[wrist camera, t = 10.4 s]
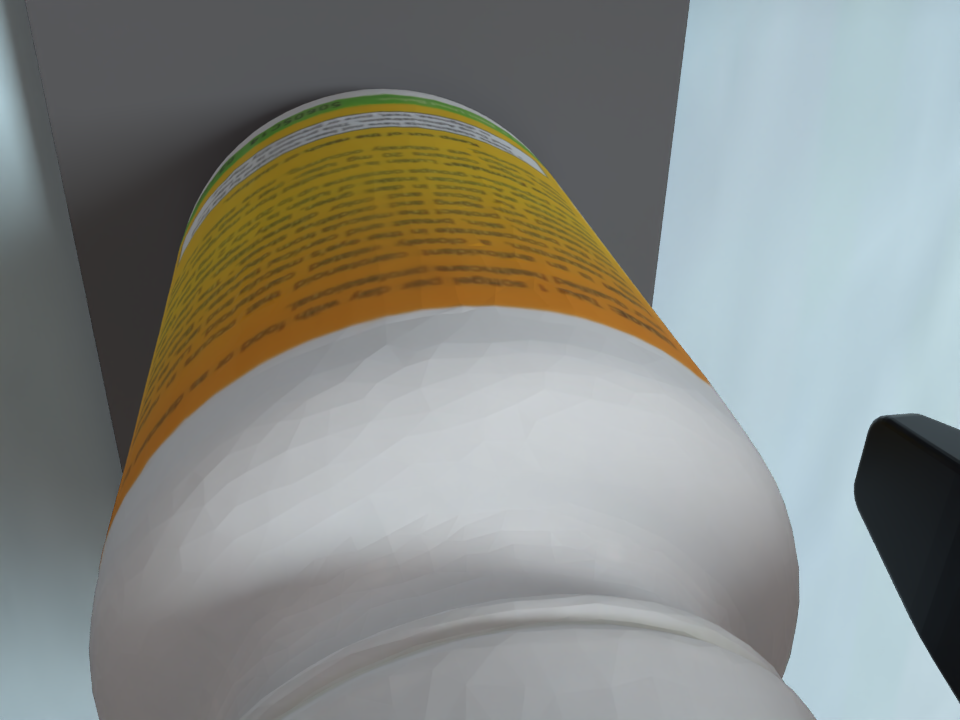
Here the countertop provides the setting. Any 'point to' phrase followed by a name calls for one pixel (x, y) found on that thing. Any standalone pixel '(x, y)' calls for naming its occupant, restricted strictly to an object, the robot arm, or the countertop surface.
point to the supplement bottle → (429, 457)
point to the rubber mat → (320, 73)
